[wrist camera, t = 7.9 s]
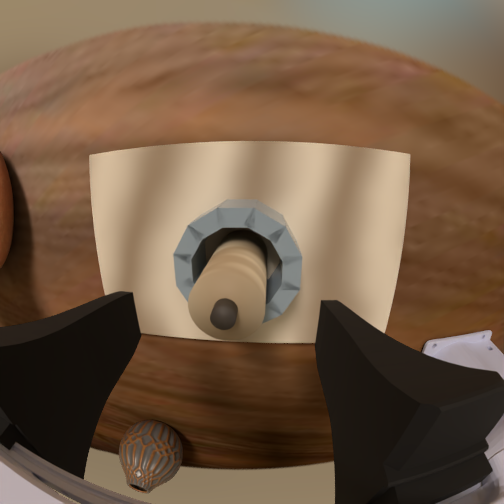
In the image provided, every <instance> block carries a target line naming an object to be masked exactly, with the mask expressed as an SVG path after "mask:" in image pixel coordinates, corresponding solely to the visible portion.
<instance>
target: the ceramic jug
mask: <svg viewBox="0 0 504 504" xmlns="http://www.w3.org/2000/svg"><path fill="white" fill-rule="evenodd" d="M13 223H14V203H13V194H12V187H11V182H10V178H9V173H8V170H7V167H6V164H5V161H4V158H3V156H2V154H1V152H0V268H1V267H2V266H3V264H4V262H5V260H6V258H7V256H8V253H9V250H10V246H11V241H12V234H13Z"/></svg>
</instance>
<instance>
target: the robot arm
mask: <svg viewBox="0 0 504 504" xmlns="http://www.w3.org/2000/svg"><path fill="white" fill-rule="evenodd" d="M491 335H492V332H491V331H490V330H487V331H482V332H477V333H472V334H466V335H460V336H454V337H448V338H442V339H435V340H429V341H427V342H426V343H425V345H424V348H423V351H422V353H421V352H419V351H416V350H414V349H412V348H410V347H408V346H406V345H404V344H402V343H400V342H398V341H396V340H395V339H393V338H391V337H389V336H388V335H386V334H385V333H383V332H381V331H380V330H378V329H377V328H375V327H374V326H372V325H371V324H370V323H368V322H367V321H365V320H364V319H363V318H361V317H360V316H359V315H357V314H356V313H355V312H353V311H352V310H351V309H349V308H348V307H347V306H345V305H344V304H343V303H341V302H340V301H338V300H321V304H320V312H319V320H318V327H317V334H316V341H315V351H316V360H317V368H318V372H319V376H320V380H321V384H322V388H323V392H324V396H325V399H326V403H327V407H328V411H329V416H330V422H331V429H332V439H333V450H334V464H335V504H504V355H503V353H502V352H501V351H500V350H499V349H498V348H497V347H496V346H495V345H494V344H493V343H492V342H491V341H490V338H491ZM140 338H141V331H140V327H139V322H138V317H137V312H136V307H135V302H134V296H133V292H125V291H118V292H114V293H111V294H108V295H105V296H103V297H100V298H98V299H95V300H93V301H90V302H88V303H85V304H83V305H81V306H78V307H76V308H73V309H70V310H68V311H65V312H62V313H60V314H57V315H54V316H51V317H48V318H45V319H41V320H37V321H34V322H29V323H24V324H19V325H13V326H6V327H0V504H76V503H74V502H72V501H70V500H68V499H67V498H65V497H63V496H61V495H59V494H58V493H57V492H56V491H58V492H60V493H62V494H63V495H65V496H67V497H69V498H71V499H73V500H75V501H77V502H79V503H81V504H151V503H147V502H143V501H140V500H136V499H133V498H130V497H127V496H124V495H121V494H118V493H116V492H113V491H110V490H107V489H104V488H102V487H100V486H97V485H95V484H92V483H90V482H88V481H85V480H84V473H85V467H86V462H87V457H88V453H89V449H90V445H91V442H92V438H93V435H94V432H95V429H96V426H97V423H98V420H99V417H100V415H101V413H102V410H103V408H104V405H105V403H106V401H107V399H108V397H109V395H110V393H111V391H112V390H113V388H114V386H115V385H116V383H117V381H118V380H119V378H120V376H121V375H122V373H123V371H124V370H125V368H126V366H127V365H128V363H129V361H130V360H131V358H132V356H133V355H134V352H135V350H136V348H137V345H138V343H139V340H140ZM48 486H49V487H48ZM50 487H51V488H52V489H51V488H50ZM53 489H54V490H56V491H54V490H53Z"/></svg>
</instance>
